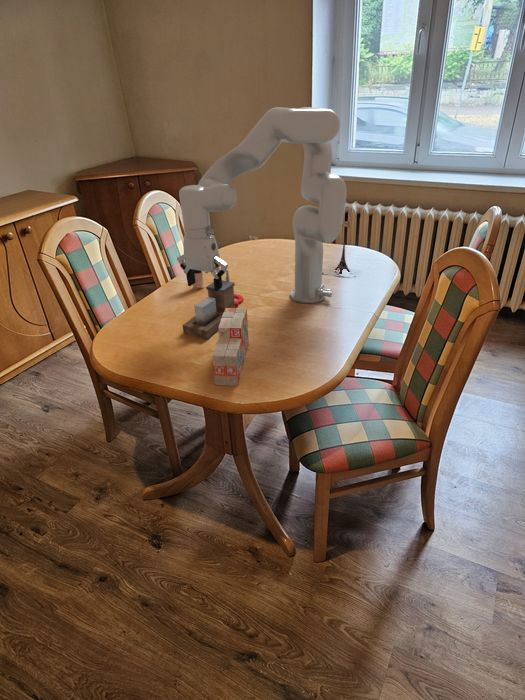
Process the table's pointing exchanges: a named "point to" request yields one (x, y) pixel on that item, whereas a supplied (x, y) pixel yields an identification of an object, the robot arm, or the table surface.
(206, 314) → the tall grey box
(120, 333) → the table surface
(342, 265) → the eiffel tower figurine
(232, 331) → the stack of blocks
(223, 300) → the post socket
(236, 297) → the tow hook
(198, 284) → the grandmother figurine
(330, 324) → the table surface
